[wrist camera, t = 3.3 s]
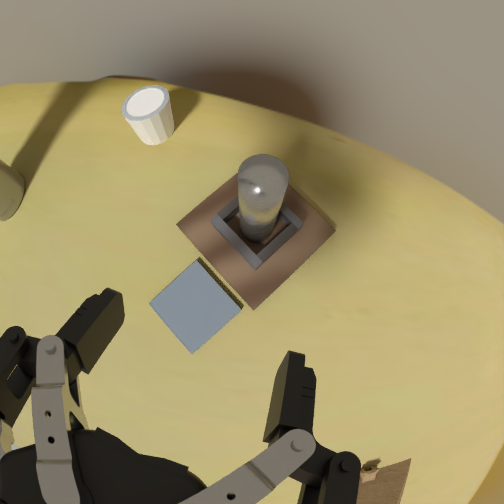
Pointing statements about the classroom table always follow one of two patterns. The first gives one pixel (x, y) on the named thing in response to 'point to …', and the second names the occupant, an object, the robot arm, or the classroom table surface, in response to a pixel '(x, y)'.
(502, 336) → the classroom table surface
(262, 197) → the peg
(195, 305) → the pad
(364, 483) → the model pyramid
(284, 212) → the square socket base
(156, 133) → the white cup
